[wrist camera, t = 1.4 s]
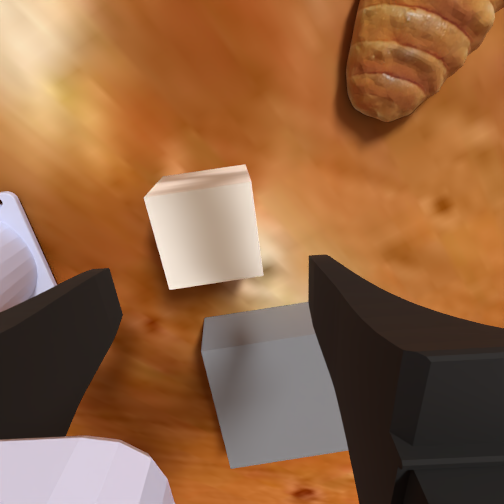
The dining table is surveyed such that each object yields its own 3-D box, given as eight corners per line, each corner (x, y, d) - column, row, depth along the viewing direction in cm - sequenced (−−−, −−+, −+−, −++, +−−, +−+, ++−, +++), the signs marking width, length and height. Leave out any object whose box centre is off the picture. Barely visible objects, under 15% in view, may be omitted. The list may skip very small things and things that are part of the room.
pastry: (409, 137, 20) (448, 144, 16) (310, 92, 18) (329, 89, 15) (509, -47, 16) (586, -89, 13) (397, -119, 15) (449, -188, 11)
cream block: (181, 251, 21) (169, 289, 17) (163, 176, 19) (143, 197, 15) (255, 239, 22) (263, 275, 17) (245, 164, 19) (251, 181, 15)
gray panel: (230, 423, 29) (230, 468, 25) (204, 314, 24) (201, 351, 20) (361, 403, 29) (380, 445, 26) (363, 290, 24) (387, 323, 21)
